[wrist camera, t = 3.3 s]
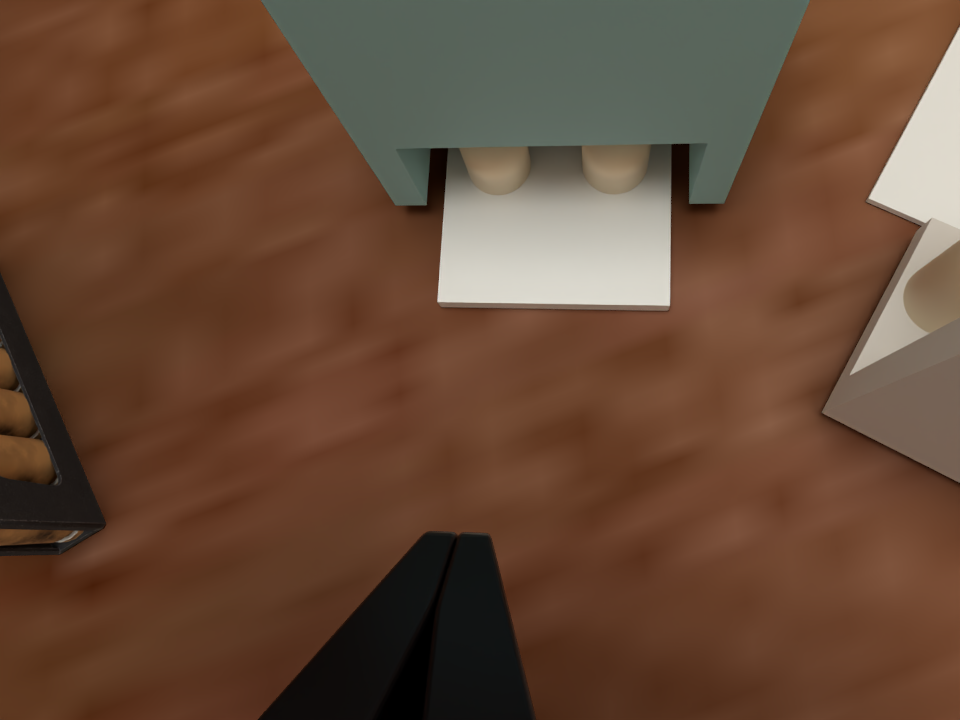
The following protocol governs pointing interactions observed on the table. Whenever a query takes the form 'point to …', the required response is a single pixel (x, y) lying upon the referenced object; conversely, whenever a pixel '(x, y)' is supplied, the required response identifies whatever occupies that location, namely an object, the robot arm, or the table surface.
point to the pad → (927, 153)
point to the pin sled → (911, 358)
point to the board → (557, 227)
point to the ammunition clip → (36, 456)
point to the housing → (543, 76)
